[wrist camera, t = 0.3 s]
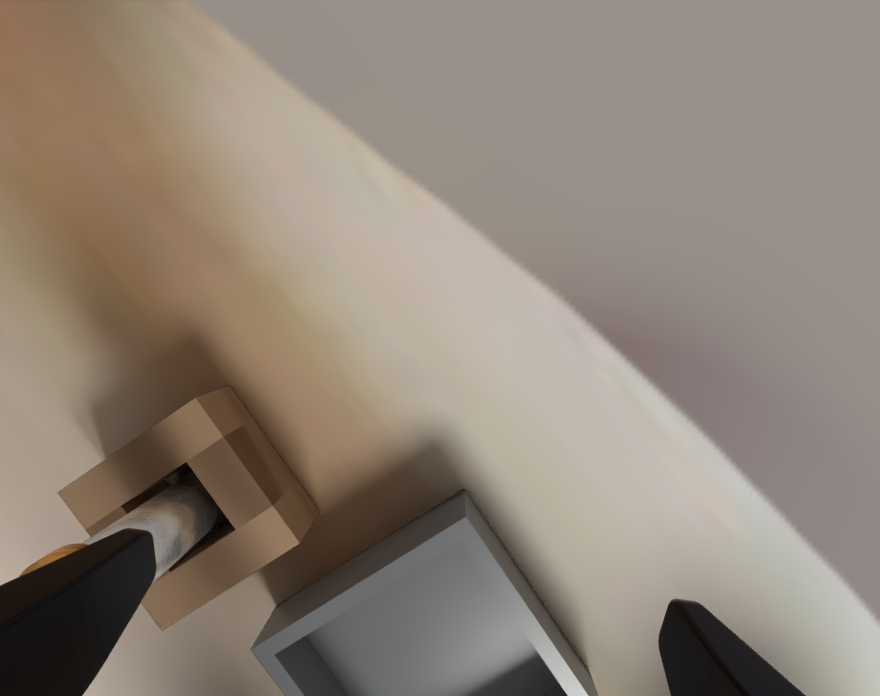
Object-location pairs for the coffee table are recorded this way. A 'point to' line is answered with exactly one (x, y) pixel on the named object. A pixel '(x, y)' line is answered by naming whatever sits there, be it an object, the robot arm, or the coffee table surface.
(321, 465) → the coffee table surface
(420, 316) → the coffee table surface
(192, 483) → the lock pin
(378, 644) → the tray
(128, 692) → the coffee table surface
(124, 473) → the block
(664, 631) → the robot arm
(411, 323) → the coffee table surface
